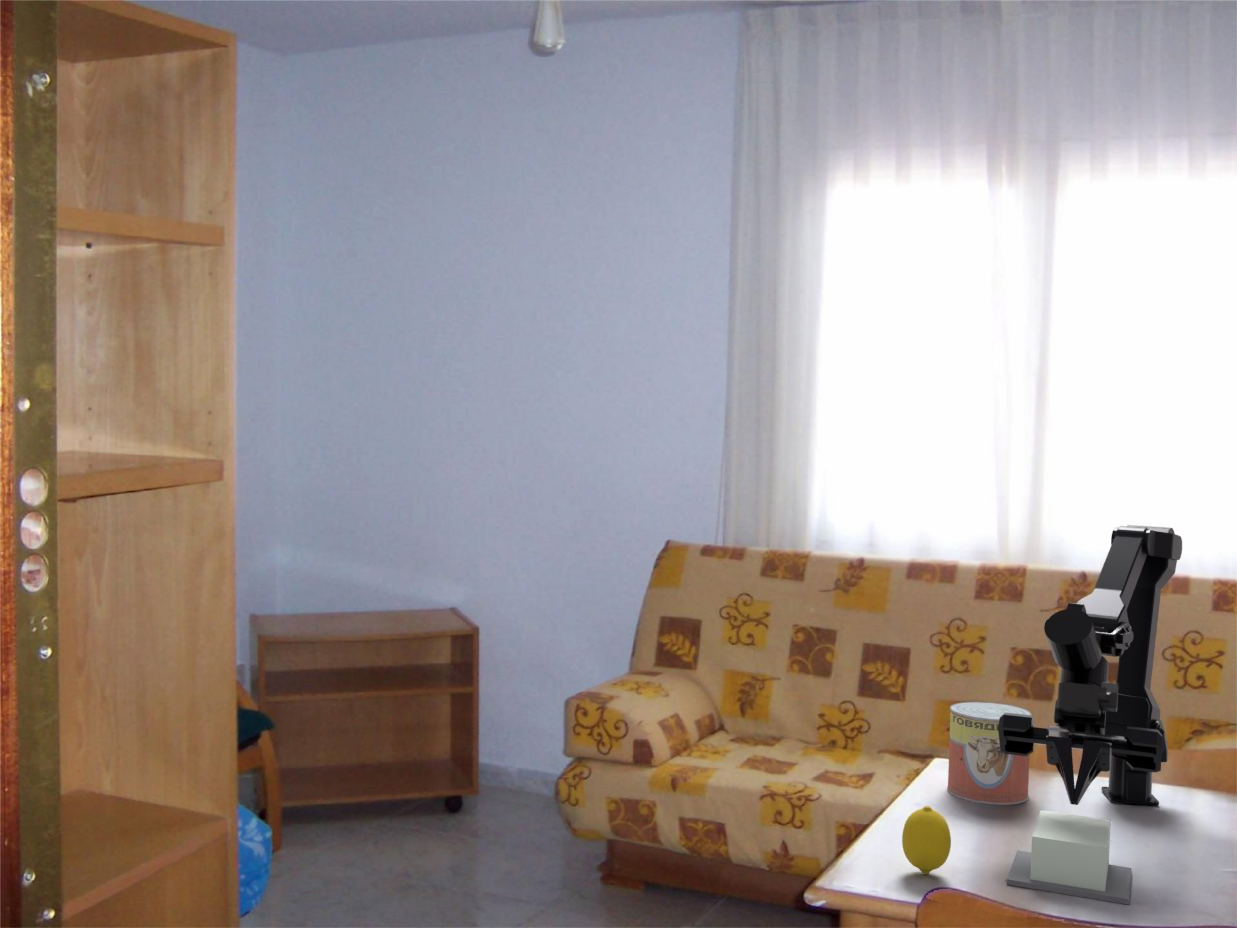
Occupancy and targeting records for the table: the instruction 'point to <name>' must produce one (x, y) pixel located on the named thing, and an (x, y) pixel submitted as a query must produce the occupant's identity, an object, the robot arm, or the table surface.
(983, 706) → the canned food
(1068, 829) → the sage block
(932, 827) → the lemon
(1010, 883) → the mat
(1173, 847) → the table surface
